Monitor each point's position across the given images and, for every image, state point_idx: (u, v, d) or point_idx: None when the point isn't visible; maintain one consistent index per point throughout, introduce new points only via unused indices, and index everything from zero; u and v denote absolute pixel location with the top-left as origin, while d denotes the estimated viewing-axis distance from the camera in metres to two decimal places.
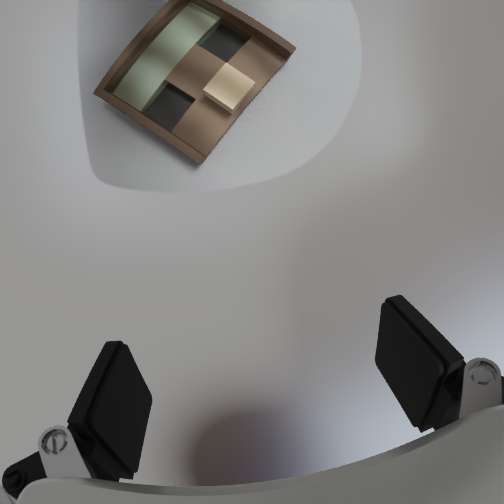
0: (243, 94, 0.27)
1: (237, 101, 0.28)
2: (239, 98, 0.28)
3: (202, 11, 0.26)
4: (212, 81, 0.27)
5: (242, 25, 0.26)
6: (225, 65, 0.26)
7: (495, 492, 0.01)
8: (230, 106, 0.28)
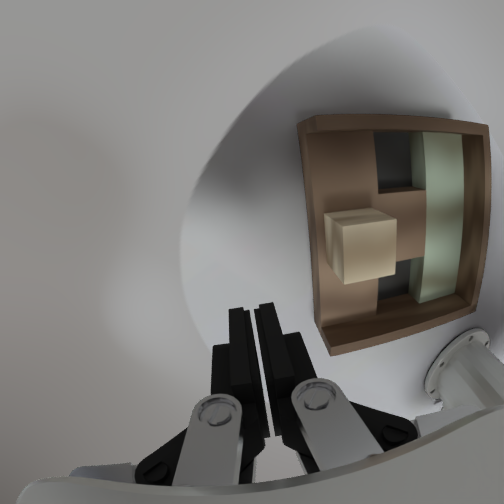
0: (345, 257, 0.18)
1: (345, 242, 0.18)
2: (346, 248, 0.18)
3: (439, 293, 0.24)
4: (393, 238, 0.18)
5: (398, 319, 0.23)
6: (393, 270, 0.18)
7: (495, 492, 0.01)
8: (348, 227, 0.17)
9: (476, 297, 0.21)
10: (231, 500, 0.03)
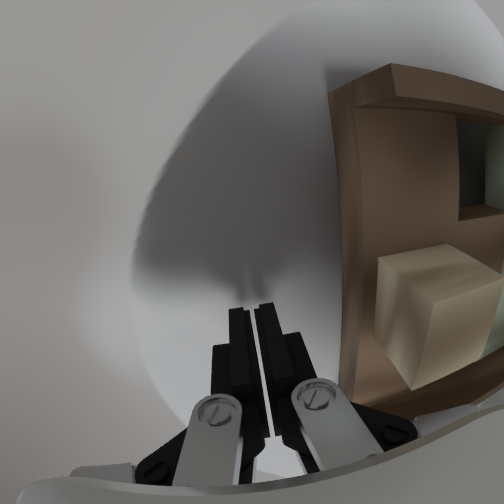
0: (425, 353, 0.08)
1: (431, 329, 0.08)
2: (430, 338, 0.08)
3: (496, 345, 0.15)
4: (494, 308, 0.08)
5: (453, 392, 0.13)
6: (480, 353, 0.09)
7: (495, 492, 0.01)
8: (441, 304, 0.07)
9: None
10: (231, 500, 0.03)
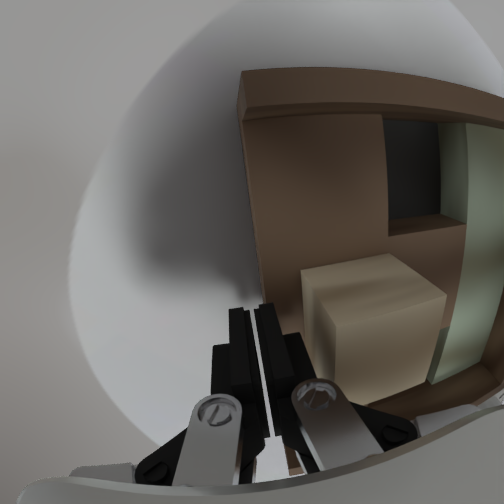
0: (338, 377, 0.08)
1: (340, 354, 0.08)
2: (341, 363, 0.08)
3: (460, 367, 0.15)
4: (434, 330, 0.08)
5: None
6: (423, 377, 0.09)
7: (495, 492, 0.01)
8: (349, 327, 0.07)
9: None
10: (231, 500, 0.03)
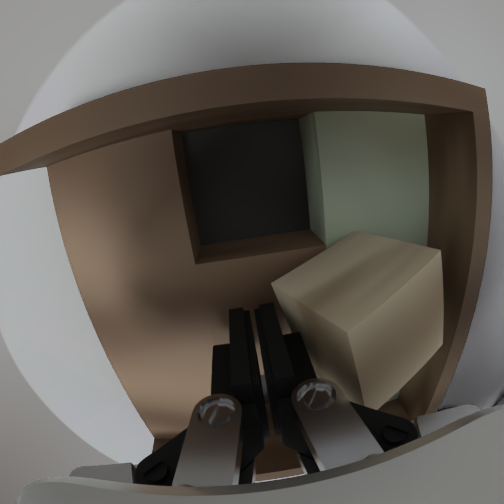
0: (363, 381, 0.07)
1: (359, 358, 0.07)
2: (362, 366, 0.07)
3: None
4: (439, 290, 0.08)
5: (270, 451, 0.13)
6: (440, 340, 0.08)
7: (495, 492, 0.01)
8: (360, 326, 0.06)
9: None
10: (231, 500, 0.03)
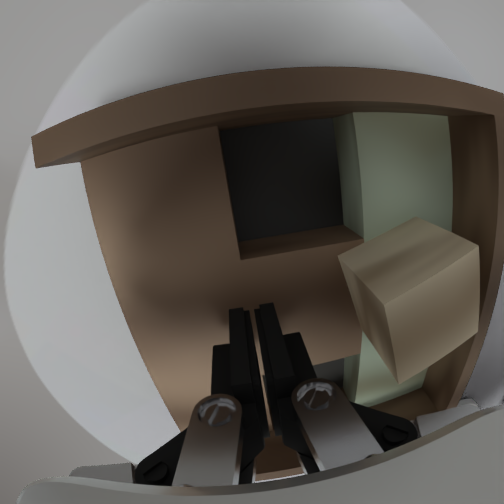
0: (397, 349, 0.08)
1: (393, 327, 0.08)
2: (396, 336, 0.08)
3: (392, 394, 0.15)
4: (475, 281, 0.08)
5: None
6: (475, 328, 0.08)
7: (495, 492, 0.01)
8: (395, 301, 0.07)
9: (453, 406, 0.12)
10: (231, 500, 0.03)
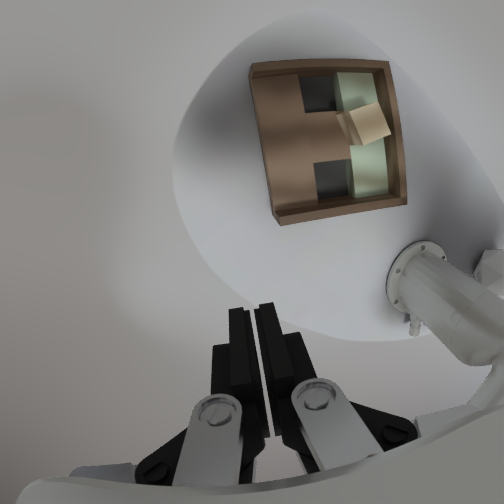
0: (357, 128, 0.27)
1: (354, 119, 0.27)
2: (356, 123, 0.27)
3: (372, 191, 0.34)
4: (380, 112, 0.27)
5: (335, 204, 0.32)
6: (388, 131, 0.27)
7: (495, 492, 0.01)
8: (352, 111, 0.27)
9: (404, 190, 0.31)
10: (231, 500, 0.03)
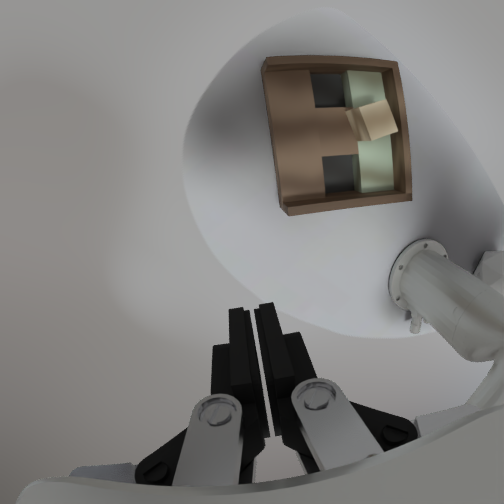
0: (366, 124, 0.28)
1: (363, 115, 0.27)
2: (365, 118, 0.27)
3: (378, 187, 0.34)
4: (388, 110, 0.27)
5: (342, 197, 0.33)
6: (396, 128, 0.28)
7: (495, 492, 0.01)
8: (362, 107, 0.27)
9: (409, 187, 0.31)
10: (231, 500, 0.03)
